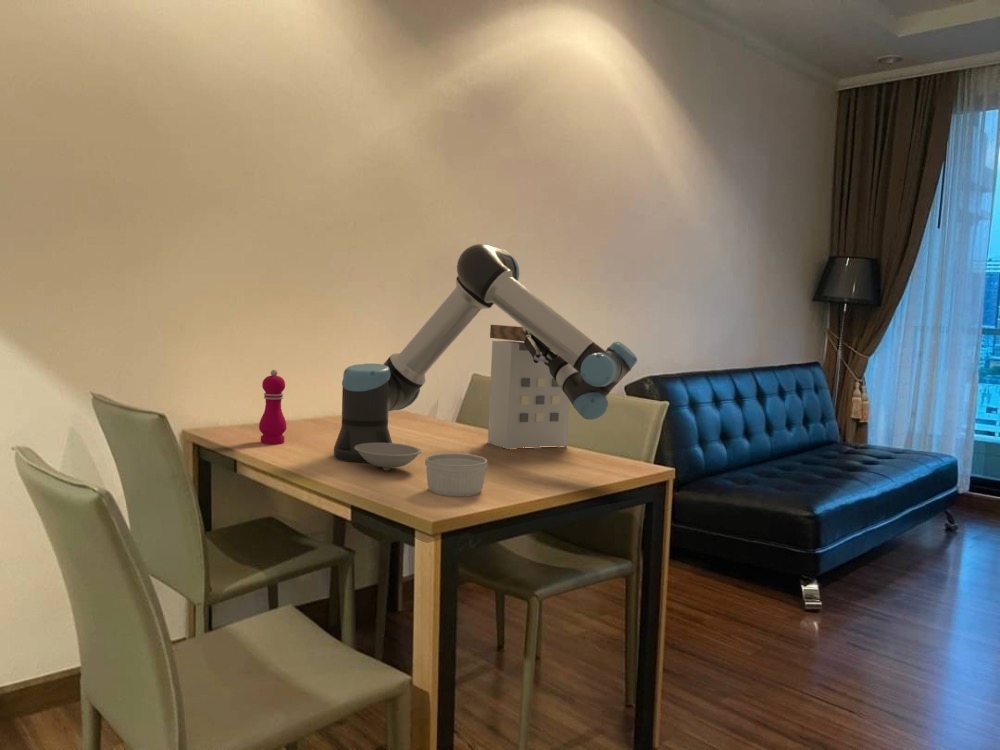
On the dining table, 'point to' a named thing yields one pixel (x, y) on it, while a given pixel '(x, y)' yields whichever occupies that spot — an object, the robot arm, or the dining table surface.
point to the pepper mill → (273, 410)
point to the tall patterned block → (524, 400)
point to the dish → (387, 454)
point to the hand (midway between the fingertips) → (532, 325)
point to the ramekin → (455, 474)
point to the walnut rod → (507, 332)
